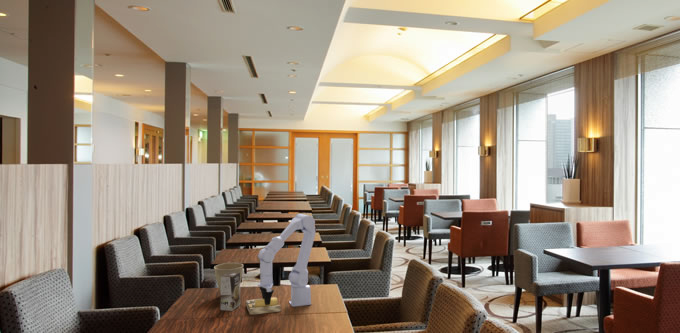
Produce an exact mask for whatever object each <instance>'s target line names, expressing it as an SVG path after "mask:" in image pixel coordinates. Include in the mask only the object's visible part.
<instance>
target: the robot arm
mask: <svg viewBox="0 0 680 333" xmlns="http://www.w3.org/2000/svg"><path fill="white" fill-rule="evenodd" d="M315 224H316V220H315V218H314V217H313V216H312V215H311V214H304V213H303V214H302V213H298V214H296V215H295V216H294V217H293V218H292V219H291V221H290V223H289V224H288V225H287V226H286V227H285V228H284V230H283V231H282V232H281V234H280V235H279V236H274V237H272V238H271V240H270V242H268V244H267V245H265V246H264V248H262V249H260V250H259V252H258V254H257V258H258V260H259V279H260V280H259V283H258V284H257V287H259V290H260V293H261V297H262V298H261V299H264V302H265V305H270V301H271V298H272V296H273V293H274V292H275V291H274V289H273V288H272V287H273V286H274V282H273V261H274V260H275V257H276V254H277V253H278V252H279V251H280V250H281V249H282V248H283V247H284V245H285V241H286V240H287V239H288V238H289V237H291V235H292V234H293V233H294V232H296V231H298V230H301V232H302V233H303V237H302V240H301V244H300V248H299V253H298V256H297V260H296V263H295V265H294V266H293V267H292V269H291V271H290V273H289V275H288V281H289V282H290V300H289V301H288V303H289V304H290V305H291V307H292V308H293V307H295V308H296V307H303V306H310V305H312V300H311V299H312V297H311V296H312V294H311V293H312V290H311V286H310V285H309V284H308V282H309V271H308V263H309V260H310V257H311V256H310V255H311V252H312V248H313V245H314V241H315V236H316V232H317V231H316V227H315Z"/></svg>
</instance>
